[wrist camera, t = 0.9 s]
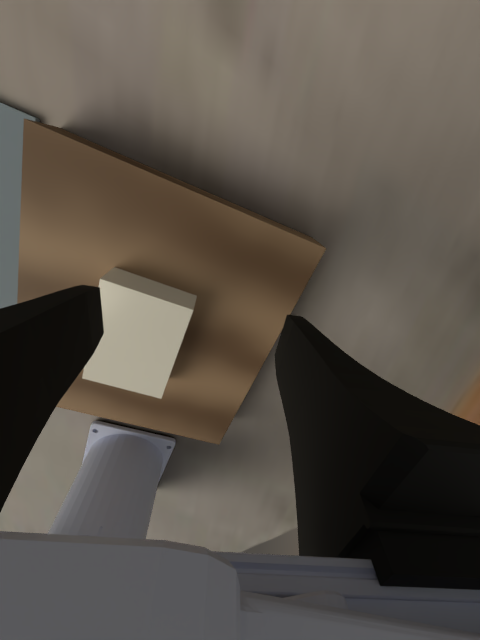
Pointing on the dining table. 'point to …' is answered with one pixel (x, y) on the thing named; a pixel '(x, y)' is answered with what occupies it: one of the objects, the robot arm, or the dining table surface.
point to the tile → (139, 332)
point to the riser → (160, 272)
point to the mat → (10, 199)
